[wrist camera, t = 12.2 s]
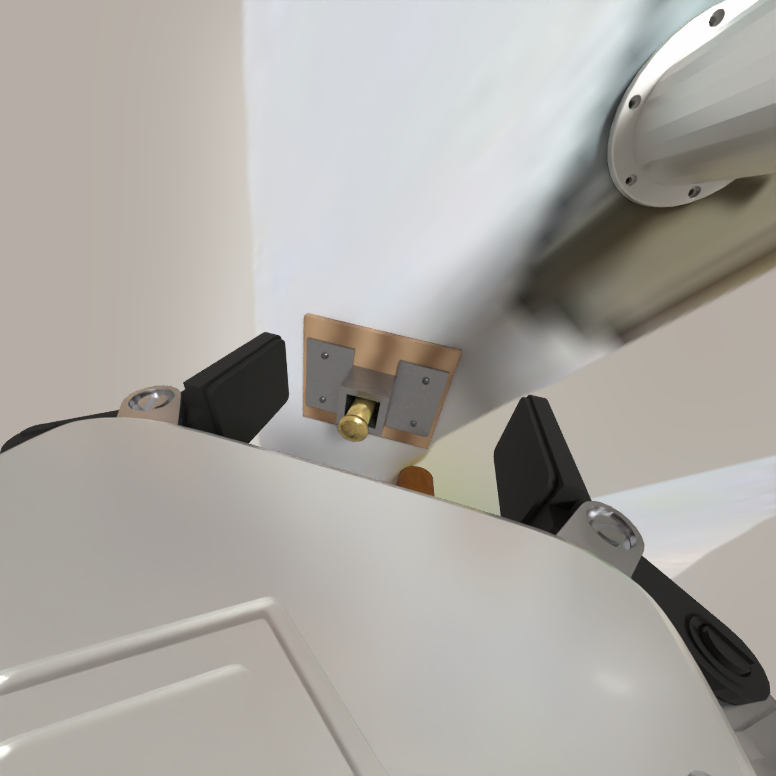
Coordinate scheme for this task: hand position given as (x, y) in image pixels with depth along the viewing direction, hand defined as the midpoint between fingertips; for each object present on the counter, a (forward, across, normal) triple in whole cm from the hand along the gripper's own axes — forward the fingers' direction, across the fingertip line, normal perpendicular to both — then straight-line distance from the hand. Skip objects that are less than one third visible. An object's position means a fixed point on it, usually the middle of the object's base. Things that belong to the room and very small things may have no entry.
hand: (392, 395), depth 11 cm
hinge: (+25, +6, +18) cm, 32 cm away
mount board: (+27, +6, +18) cm, 33 cm away
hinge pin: (+25, +6, +18) cm, 32 cm away
